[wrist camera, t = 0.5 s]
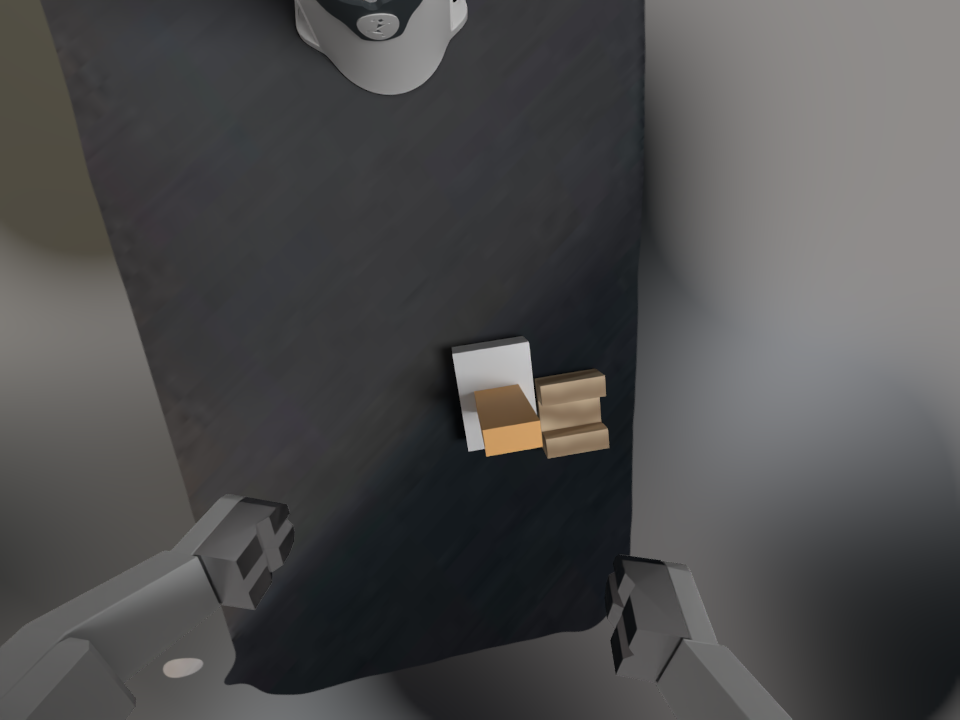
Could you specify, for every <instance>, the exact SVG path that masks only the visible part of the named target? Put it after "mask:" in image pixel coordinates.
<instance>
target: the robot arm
mask: <svg viewBox="0 0 960 720" xmlns="http://www.w3.org/2000/svg"><path fill="white" fill-rule="evenodd" d="M467 16H468V12H467V5H466V1H465V0H457V1H456V2H453V0H295V17H296V28H297V31H298V33H299V35H300V37H301V39H302V40H303V41H304V42H305V43H307V44H308V45H310V46H311V47H313V48H315V49H316V50H318V51H320V52H322V53H324V54H325V55H326V56H327V57H328V58H329V59H330V60H331V61H332V62H333V63H334V65H335V66H336V67H337V68H338V69H339V71H340V72H341V73H342V74H343V75H344V76H345V77H347V78H348V79H349V80H350V81H352V82H353V83H354V84H356V85H358V86H359V87H361V88H363V89H365V90H368V91H371V92H374V93H378V94H385V95H394V94H401V93H405V92H408V91H411V90H413V89H415V88H417V87H418V86H420V85H421V84H423V83H424V82H425V81H426V80H427V79H428V78H429V77H430V76H431V75H432V74H433V73H434V71H435V70H436V69H437V67H438V65H439V64H440V62H441V60H442V58H443V55H444V52H445V50H446V47H447V45H448V43H449V41H450V39H451V38H452V37H453V36H454V35H455V34H456V33H457V32H458V31H459V30H460V29H461V28H462V27H463V25H464V24H465V22H466V20H467ZM289 514H290V511H289V508H288V505H287V504H283V503H278V502H272V501H266V500H260V499H255V498H249V497H244V496H237V495H231V494H227V495H225V496H223V497H221V498H220V499H219V500H218V501H217V502H216V503H215V504H214V505H213V506H212V507H211V508H210V509H209V510H208V511H207V512H206V514H205V515H204V516H203V517H202V518H201V519H200V520H199V521H198V522H197V523H196V524H195V525H194V526H193V527H192V528H191V530H190V531H189V532H188V533H187V534H186V535H185V536H184V537H183V538H182V539H181V540H180V541H179V542H178V543H177V545H176V546H175V547H174V548H173V549H172V550H171V551H163V552H161V553H159V554H157V555H155V556H153V557H151V558H150V559H148V560H146V561H144V562H142V563H140V564H139V565H136V566H134V567H133V568H131V569H129V570H127V571H125V572H123V573H121V574H120V575H118V576H116V577H114V578H112V579H110V580H108V581H106V582H105V583H103V584H101V585H99V586H97V587H95V588H93V589H92V590H89V591H88V592H86V593H84V594H82V595H80V596H78V597H76V598H75V599H73V600H71V601H69V602H67V603H65V604H63V605H61V606H60V607H58V608H56V609H54V610H52V611H50V612H48V613H47V614H45V615H43V616H41V617H39V618H37V619H35V620H33V621H32V622H30V623H28V624H26V625H24V626H23V627H22V628H21V629H20V630H19V631H18V632H17V633H15V634H14V635H13V636H12V637H11V638H10V639H9V640H8V641H7V642H6V643H4V644H3V645H2V646H1V647H0V720H126V719H127V717H128V716H129V715H130V714H131V712H132V711H133V709H134V708H135V706H136V698H135V697H134V695H133V694H132V693H131V692H130V690H129V689H128V688H127V687H126V686H125V684H124V683H125V682H126V681H127V680H129V679H130V678H131V677H132V676H134V675H135V674H136V673H138V672H139V671H140V670H141V669H143V668H144V667H145V666H146V665H148V664H149V663H150V662H151V661H153V660H154V659H155V658H157V657H158V656H159V655H160V654H162V653H163V652H164V651H165V650H167V649H168V648H169V647H170V646H172V645H173V644H174V643H175V642H177V641H178V640H179V639H181V638H182V637H183V636H184V635H186V634H187V633H188V632H189V631H191V630H192V629H193V628H194V627H196V626H197V625H198V624H200V623H201V622H202V621H203V620H205V619H206V618H207V617H208V616H210V615H211V614H212V613H214V612H215V611H216V610H217V609H219V608H220V605H226V606H232V607H239V608H246V609H253V610H255V609H256V607H257V606H258V604H259V603H260V601H261V599H262V598H263V596H264V595H265V593H266V591H267V590H268V588H269V587H270V585H271V583H272V572H273V571H274V570H276V569H277V568H279V567H280V566H282V565H283V564H284V562H285V561H286V559H287V557H288V556H289V554H290V552H291V549H292V546H293V543H294V536H295V531H294V527H293V525H292V524H291V523H290V522H289V521H288V520H287V517H288V516H289ZM613 567H614V573H612V574H610V575H609V576H608V579H607V582H606V588H605V607H606V614H607V619H608V621H609V622H610V623H611V625H612V626H613V628H614V629H615V630H614V633H613V635H612V638H611V647H612V653H613V659H614V665H615V672H616V675H619V676H624V677H629V678H633V679H638V680H643V681H647V682H653V683H657V685H656V686H657V688H658V690H659V691H660V693H661V695H662V696H663V698H664V699H665V701H666V702H667V704H668V706H669V708H670V709H671V711H672V712H673V714H674V715H675V717H676V719H677V720H792V718H791V717H790V716H789V715H788V714H787V713H786V712H785V711H784V710H783V708H781V706H780V705H779V704H778V703H777V702H776V701H775V700H774V698H773V697H772V696H771V695H770V694H769V693H768V692H767V691H766V690H765V689H764V687H763V686H762V685H761V684H760V683H759V682H758V681H757V680H756V679H755V678H754V676H753V675H752V674H751V673H750V672H749V671H748V670H747V669H746V668H745V667H744V665H743V664H742V663H741V662H740V661H739V660H738V659H737V658H736V657H735V655H734V654H733V653H732V652H731V651H730V650H729V649H728V648H727V647H726V646H723V645H719V644H718V642H717V639H716V637H715V634H714V631H713V629H712V626H711V624H710V621H709V618H708V616H707V613H706V610H705V608H704V605H703V603H702V600H701V597H700V595H699V592H698V589H697V587H696V584H695V582H694V579H693V576H692V574H691V571H690V569H689V568H688V567H687V566H686V565H684V564H679V563H672V562H665V561H661V560H656V559H648V558H641V557H634V556H627V555H620V554H618V555H617V556H616V557H615V559H614V562H613Z"/></svg>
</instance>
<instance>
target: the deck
mask: <svg viewBox="0 0 960 720" xmlns="http://www.w3.org/2000/svg"><path fill="white" fill-rule="evenodd" d="M452 355H453V361H454V367H455V373H456V379H457V385H458V391H459V397H460V403H461V409H462V415H463V421H464V427H465V433H466V439H467V445H468V451H474V450H480V449H485V447H484V442H483V437H482V433H481V428H480V423H479V419H478V414H477V408H476V402H475V395H474V391H480V390H486V389H492V388H498V387H504V386H510V385H516V384H519V386H520V388H521V389H522V391H523V393H524V394H525V396H526V398H527V399H528V401H529V403H530V404H531V406H532V408H533V409H534V411H535V413H536V414H537V412H536V403H535V394H534V385H533V376H532V367H531V358H530V349H529V342H528V341H527V340H526V339H525V338H524V337H523V336H519V337H513V338H507V339H500V340H494V341H488V342H482V343H475V344H469V345H463V346H457V347H452Z"/></svg>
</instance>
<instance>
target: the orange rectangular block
mask: <svg viewBox="0 0 960 720" xmlns="http://www.w3.org/2000/svg"><path fill="white" fill-rule="evenodd" d="M474 395H475V402H476V408H477V414H478V419H479V423H480V428H481V433H482V437H483V442H484V447H485V451H486V456H492V455H498V454H504V453H509V452H515V451H521V450H527V449H532V448H538V447H543V442H542V433H541V424H540V419H539V418H538V416H537V414H536V413H535V411H534V409H533V408H532V406H531V404H530V403H529V401H528V399H527V398H526V396H525V394H524V393H523V391H522V389H521V388H520V386H519V384H516V385H510V386H504V387H498V388H492V389H486V390H480V391H474Z"/></svg>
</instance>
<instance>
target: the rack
mask: <svg viewBox="0 0 960 720" xmlns="http://www.w3.org/2000/svg"><path fill="white" fill-rule="evenodd" d="M535 388H536V397H537V406H538V415H539V419H540V424H541V433H542V442H543V447H542V448H543V450H544V452H545V454H546V456H547V457H548V458H554V457H559V456H565V455H571V454H576V453H582V452H588V451H593V450H599V449H605V448H609V437H608V428H607V427H606V426H605V425H604V424H603V423H602V422H601V413H600V397H603V396H606V387H605V375H603V374H602V373H600V372H599V371H598V370H596V369H590V370H584V371H578V372H572V373H566V374H560V375H554V376H548V377H542V378H536V379H535Z"/></svg>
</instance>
